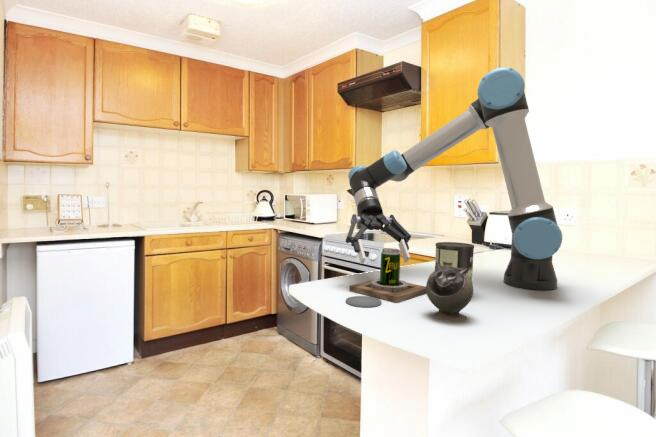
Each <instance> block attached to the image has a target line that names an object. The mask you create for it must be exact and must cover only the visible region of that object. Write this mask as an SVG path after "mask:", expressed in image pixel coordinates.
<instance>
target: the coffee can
mask: <svg viewBox="0 0 656 437" xmlns="http://www.w3.org/2000/svg"><path fill="white" fill-rule="evenodd" d="M474 248H475V245H474V244H472V243H464V242H455V241H440V242H439V241H438V242H436V243H435V259H434V260H435V262H434V263H435V264H434V266H435V265H436V263H438V264H441V266H443V267H456V268H459V269H461V270H462V269H463V268H464V267H468V268H469V271H468V273H466V274H467V275H468V276H469V278H470V279H471V281H472V282H473V270H474V269H473V267H474V250H475V249H474Z"/></svg>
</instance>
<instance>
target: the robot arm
mask: <svg viewBox="0 0 656 437" xmlns="http://www.w3.org/2000/svg"><path fill="white" fill-rule="evenodd" d="M478 84H479V85H478V88H477V97H478V98H477V99H476V100H474V101H473V102H472V103H470V104H469V105H468V109H467V110H465V111H464V112H462V113H461V114H459V115H457V116H456V117H455V118H453V119H452V120H450V121H448V122H447V123H446V124H444V125H443V126H441V127H440V128H438V129H437V130H435V131H434V132H432V133H430V134H429V135H428V136H426V137H425V138H424V139H422V140H421V141H419V142H418V143H416V144H414V145H413V146H411V147H410V148H409V149H407V150H406V151H404V152H403V153H400V152H399V151H398V150H395V149H394V150H392V151H390V152H388V153H386V154H385V155H384V156H382V157H381V158H379V159H377V160H376V161H374V162H373V163H371V164H370V165H368V166H365V165H360V164H359V165H358V166H353V167H352V168H351V169H350V170H349V172H348V174H347V175H348V181H349V187H350V189H351V193H352V196H353V198H354V203H355V207H356V210H357V214H358V216H357V214H355V213H353V214H352V216H351V217H350V227H349V230H348V232H347V235H346V238H345V243H347V244H349V243H350V245H351V246H352V247H353V250H354V253H357V255H358V258H359V262H360V265H362V264H364V263H365V261H366V253H365V250H364V246H363V242H362V240H361V237H362V236H363V234H364V233H365V232H366V231H367V230H369V231H374V230H375V231H381V232H383V233H386V234H387V235H388V236H390V237H392V239H394V241H396V242H398V249H399V250H400V251H399V252H400V255H401V256H402V260H403V262H404V263H408V262H409V260H410V259H411V256H410V253H409V249H410V247H409V244H408V243H409V241H410V240H411V239H412V235H411V234H410V233H409V232H408V231H407V230H406V229H405V228H404V227H403V225H401V224H400V222H398V220H397V219H396V217H395V216H394V215H393V214H390V215H389V216H385V214H384V211H383V208H382V207H383V206H382V204H381V202H380V199H379V196H378V193H377V190H376V189H377V188H379V187H380V186H382V185H383V184H385V183H387V182H389V181H392V182H393V181H394V182H396V183H398V182H403V181H405V180H406V179H407V178H408V177H409V175H411V174H413V173H414V172H416V171H417V170H418V169H420V168H422V167H423V166H425V165H427V164H428V163H430V162H432V160H434V159H436V158H438V157H439V156H441V155H442V154H444V153H445V152H447V151H448V150H450V149H451V148H453V147H455V146H457V145H458V144H459V143H461V142H462V141H464V140H465V139H468V138H469V137H470V136H472V135H474V134H475V133H476V132H478V131H480V130H487V129H488V128H491V129H492V131H493V138H494V140H495V145H496V149H497V152H498V156H499V162H500V166H501V169H502V173H503V178H504V181H505V186H506V190H507V195H508V198H509V201H510V207H511V210H510V211H509V212H508V214H507V218H508V222H509V226H510V231H511V248H510V259H509V261H508V264H507V267H506V268H505V269H506V270H505V271H504V274H503V283H505V284H506V285H509V286H511V287H512V286H513V287H516V288H522V289H528V290H540V291H546V290H547V291H548V290H549V291H550V290H555V289H558V278H557V275H556V274H557V273H556V272H555V268H554V267H555V266H554V265H553V264H554V263H553V256H554V255H555V254H557V252H558V251H559V250H560V248H561V246H562V243H563V234H562V230H561V229H560V226H559V225H558V223H557V222H558V221H557V218H556V215H555V210H554V206H553V205H551V204H549V203H548V202H547V201H546V199H545V195H544V193H543V188H542V184H541V180H540V176H539V171H538V168H537V167H538V166H537V163H536V160H535V159H536V158H535V156H534V151H533V148H532V147H533V146H532V144H531V143H532V142H531V138H530V135H529V132H528V126H527V123H526V117H527V115H528V113H529V112H530V108H529V106H528V101H527V97H526V93H525V89H526V87H525V86H526V85H525V80H524V77H523V76H522V75H521V74H520V73H519V71H517V70H516V69H514V68H512V67H507V66H502V67H497V68H494V69H491V70H490V71H489V72H487V73H486V74H485V75H484V76H483V77H482V79H480V82H479V83H478ZM359 222H360V224H362V226H360V228H359V230H358V231H357V232H356V234H355V235H354V236H353V234H354V231H355V228H356V225H357V224H358V223H359Z"/></svg>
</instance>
